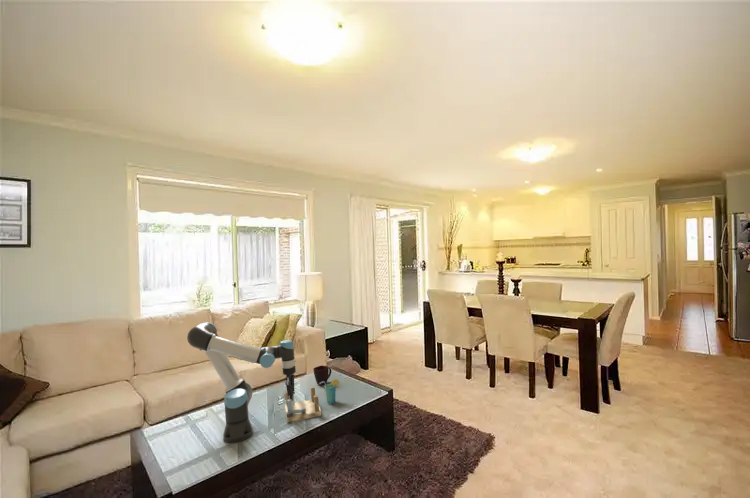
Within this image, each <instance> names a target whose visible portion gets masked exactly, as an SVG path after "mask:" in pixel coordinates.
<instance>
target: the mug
mask: <svg viewBox="0 0 750 498" xmlns="http://www.w3.org/2000/svg"><path fill="white" fill-rule="evenodd" d="M312 371H313V375H314V379H315V382H316V384H317V385H318V386H325V384H324V383H321V384H319V383H320V382H322V381H324V382H325V383H326V385H327V384H328V380H329V379H330V377H331V375H332V369H331V367H329V366H328V365H319V366H316V367H314V368H313V369H312Z"/></svg>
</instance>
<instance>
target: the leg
mask: <svg viewBox="0 0 750 498" xmlns="http://www.w3.org/2000/svg"><path fill="white" fill-rule="evenodd" d="M287 408H288V414H290V413H293V414H295V413H305V412H306V408H302V409H296V410H292V399H288V400H287Z"/></svg>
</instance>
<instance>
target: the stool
mask: <svg viewBox="0 0 750 498" xmlns="http://www.w3.org/2000/svg"><path fill="white" fill-rule="evenodd" d="M287 395H288V393H287V390H286V391H285V400H286V401H285V402H286V403H285V404H284V411H285V417H286V418H285V419H286V423H290V422H291V423H292V422H296V421H302V420H306V419H311V418H316V417H320V416H322V409H321V407H320V401H319V395H316V388H315V386H311V387H310V397H311V398H310V399H308V400H303V401H297V402H295V406H292V410H296V409H302V408H306V412H305V413H295V414H293V413H290V414H288V408H287V400H288V399H289V396H287Z"/></svg>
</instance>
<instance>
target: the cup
mask: <svg viewBox="0 0 750 498" xmlns="http://www.w3.org/2000/svg"><path fill="white" fill-rule="evenodd" d="M321 383H324V384H325V385H323V386H324V389H325V396H326V403H327V404H328V405H332V404H335V403H336V392H337V391H336V389H337V388H338V386H339V384H340V381H339V379H337V378H334V379H332V380H331V383H327V384H326V383H325V382H324V381H322V382H320V383H319V384H321Z"/></svg>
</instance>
